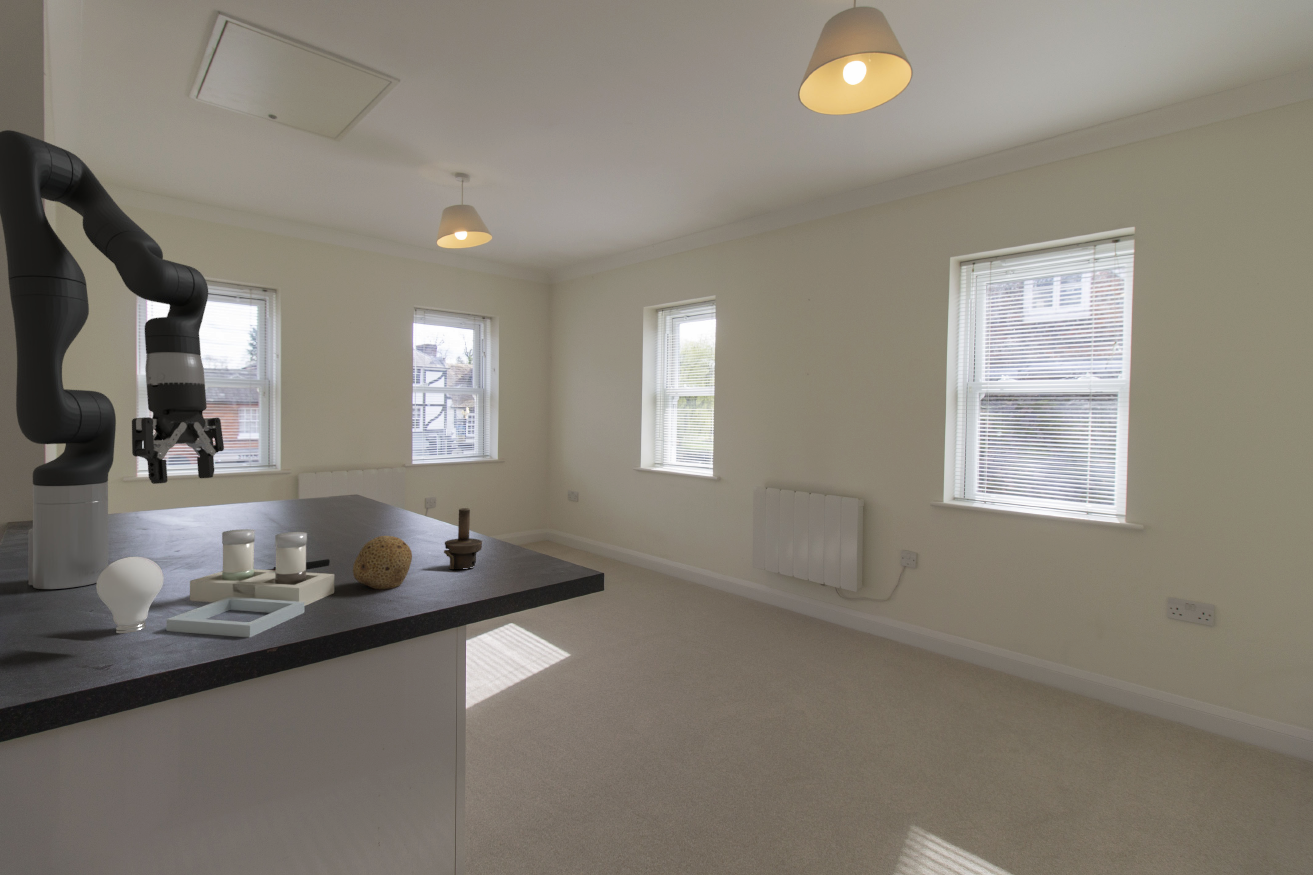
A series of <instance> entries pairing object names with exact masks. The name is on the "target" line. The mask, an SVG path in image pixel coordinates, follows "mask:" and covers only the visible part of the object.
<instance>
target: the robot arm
mask: <svg viewBox="0 0 1313 875" xmlns="http://www.w3.org/2000/svg"><path fill="white" fill-rule="evenodd" d="M43 199H44V200H47V201H49V202H57V203H59V204H62V205H65V206H67V207H68V208H70V209H71V210H72V211H74V212H76V213H77V214H78V215H80V216H81V217H82V228H83V231H84V233H85V236H86V238H87V239H88V240H89V241H90V243H91V244H92V245H93V246H94V247H95V248H96V250H98V251H99V252H100V253H102V255H103V256H105V258H107V259H108V260H109V261H110V262H111V263H113V265H114V266H115V268H116V271H117V272H118V274H119V276H120V277H121V278H120V279H122V281H123V283H124V285H125V287H126V288H127V289H128V290H129V291H130V292H132V293H133V294H134V295H135V296H137V297H139V298H141V299H143V300H145V301H146V300H147V301H149V302H153V303H159V304H165V305H169V310H168V311H167V312H168V313H167V315H166V316H162V317H153V318H150V319H148V320H146V322H145V325H144V342H145V354H146V356H145V359H146V360H145V366H144V367H145V379H146V380H145V383H146V395H147V396H146V397H147V406H148V407H147V408H148V411H149V412H151V413H152V417H150V416H149V417H146V416H145V417H135V418H132V420H131V445H132V446H131V447H132V448H131V452H132V453H131V454H132V456H134V457H140V458H143V459H145V461H146V462H147V470H148V471H147V472H148V475H147V476H148V479H149V481H150V482H151V483H152V484H153V485H156V484H157V485H158V484H166V483H167V482H168V470H167V468H168V467H167V460H166V459H164V458H165V457H166V455H167V454H168V452H169V450H170V449H172V448H173V447H175V445H185V444H186V445H187V446H188V447H189V448H191V449H192V450H193V452H195V453H196V455H197V457H196V461H197V473H198V475H197V476H198V478H199V479H211V478H213V477H214V475H215V462H214V461H215V460H214V456H215V455H216V454H218V452H223V451H224V450H225V446H224V438H223V437H224V435H223V430H222V423H221V419H220V418H219V417H208V418H207V417H206V418H204V414H203V412H204V411H206V410H207V407H208V406H207V395H206V394H207V393H206V382H205V369H204V364H203V361H202V353H201V338H200V329H201V326H202V322H203V320H204V319H203V318H204V315H205V314H204V313H205V311H206V306H207V303H208V299H209V287H208V284H207V281H206V278H205V277H204V275H203V274H202V273H201V272H200V271H199V269H197V268H194V266H190V265H187V264H182V263H179V262H174V261H172V260H167V259H165V258H164V253H163V250H162V248H161V246H160V244H159V243H158V242H156V240H155V239H154V238H153V237H152V236H151V235H150V234H148V233H147V232H146V231H145V230H144V229H142V228H141V226H140V225H138V224H137V223H136V222H135V221H134V220H132V219H131V218H130V216H128V215H127V214H126V213H125V212H124V211H123V209H121V207H120V206H119V205H118V204H117V203H116V201H114V199H113V198H112V197H111V195H110V194H109V192H108V191H107V190H106V189H105V187H104V186H103V185H102V183H101V182H100V181H99V179H98V178H97V177H96V175H95V174H94V172H93V171H92V170H91V169H90V168H89V166H87V164H86V163H85V162H84V161H83V160H82V159H81V158H80V157H79V156H77V155H76V154H74V153H73V152H71V151H69V150H68V149H64V148H62V147H60V146H58V145H54V144H52V143H50V142H47V141H44V140H42V139H39V138H36V137H34V136H31V135H28V134H26V133H23V132H20V131H15V130H11V129H7V130H6V129H5V130H1V131H0V219H1V220H0V221H1V224H2V230H3V236H4V246H5V252H6V260H7V262H6V263H7V276H8V277H7V278H8V286H9V295H10V302H11V303H10V304H11V309H12V315H13V323H14V334H15V343H16V344H15V345H16V347H15V348H16V389H15V390H16V392H15V394H16V395H15V396H16V397H15V400H16V401H15V402H16V403H15V404H16V405H15V407H16V408H15V409H16V418H17V423H18V427H19V429H20V431H21V433H22V435H23V436H24V437H25V439H27V440H29V441H30V442H31V443H35V444H38V445H64V444H65V446H64V451H63V452H62V453H61V454H60V455H58V456H57V457H56V458H55V459H53V460H50V461H48V462H46V463H43V464H41V465H38V466H37V467H34V469H33V472H32V528H30V529H29V530H28V532H27V534H28V536H27V537H28V540H27V541H28V546H27V548H28V552H27V554H28V556H27V557H28V566H27V567H28V585H29V586H32V587H33V588H34V589H37V590H57V589H58V590H59V589H69V588H70V589H71V588H76V587H83V586H88V585H89V586H90V585H93V584H97V580H98V578H99V576H100V574H101V573H102V571H103V570H104V569H105V568H106V567H107V566H109V473H110V470H111V468H112V466H113V462H114V455H115V441H116V440H115V439H116V430H117V428H116V427H117V425H116V424H117V420H116V412H115V407H114V405H113V403H112V401H111V400H110V399H109V397H108V396H106V395H105V394H104V393H102V392H100V391H96V390H95V391H94V390H85V389H84V390H83V389H69V388H67V389H65V388H64V384H63V363H64V362H63V361H64V357H65V355H66V352H68V349H69V347H70V346H71V344H72V343H73V342H74V340H75V339H76V338H77V337H78V335H79V333H80V332H81V330H82V329H83V327H84V326H85V324H86V322H87V320H88V317H89V314H90V313H89V312H90V308H89V297H88V289H87V288H88V287H87V280H86V276H85V273H84V272H83V270H82V268H81V266H80V264H79V263H78V261H77V259H75V257H74V256H73V254H72V253H71V252H70V250H69V249H68V248H67V246H66V245H65V244H64V243H63V241H62V240H61V239H60V237H59V236H58V235H57V234H56V232H55V231H54V229H53V227H52V226H51V224H50V222H49V220H48V218H47V215H46V213H45V209H44V208H45V207H44V204H43ZM154 431H155V432H154Z"/></svg>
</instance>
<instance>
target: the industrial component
mask: <svg viewBox="0 0 1313 875" xmlns="http://www.w3.org/2000/svg"><path fill="white" fill-rule="evenodd" d="M470 519H471V509H470V508H468V507H467V508H466V507H465V508H463V507H461V508H459V509H458V527H457V528H458V529H457V530H458V531H457V538H452V539H448V540H446V541H444V546H445V547H444V548H445V549H444V550H443V554H445V555H446V557H448V558H449V570H450V569H463V568H470V567H473V566H475V567H476V563H477V553H478V552H480V551H482V548H483V546H482V545H483V541H482V540H481V539H478V538H477V539H476V538H471V537H470V526H471V525H470V523H471V522H470V521H471V520H470Z"/></svg>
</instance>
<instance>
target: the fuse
mask: <svg viewBox="0 0 1313 875" xmlns="http://www.w3.org/2000/svg"><path fill="white" fill-rule="evenodd" d="M255 534H256V531H255V529H251V528H250V529H247V528H245V529H244V528H243V529H241V528H239V529H231V530H226V531H223V532H221V544H222V570H221V571H222V579H223V580H227V581H243V580H246V579H249V578H252V577H254V569H255V561H254V560H255V558H254V557H255V555H254V554H255V552H254V551H255V539H256V538H255V537H256V535H255Z"/></svg>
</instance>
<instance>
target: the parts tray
mask: <svg viewBox="0 0 1313 875" xmlns="http://www.w3.org/2000/svg"><path fill="white" fill-rule="evenodd" d="M230 610H231V611H243V612H259V613H268V614H266V615H263V616H261V617H258V618H256V619H254V620H252V621H249V622H247V621H246V622H245V621H234V620H225V619H224V620H223V619H221V620H220V619H210V618H212V617H215V616H218V615H220V614H223V613H225V612H228V611H230ZM304 613H305V606H304V602H297V601H283V600H268V599H254V598H239V597H228V598H225V599H222V600H219V601H216V602H210V603H207V604H206V605H203V606H200V607H198V608H194V609H192V610H189V611H185V612H183V613H180V614H177V615H175V616H172V617H169V618H167V619H166V628H165V629H166V632H177V633H188V634H189V633H191V634H200V635H201V634H202V635H212V636H213V635H214V636H227V637H240V638H252V637H254V636H256V635H259V634H260V633H264V632H265V631H267V630H269V629H272V628H273V627H274V628H275V627H276V626H278V625H280V624H282V623H285V622H287V621H290V620H291V619H293V618H296V617H298V616H300V615H302V614H304Z"/></svg>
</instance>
